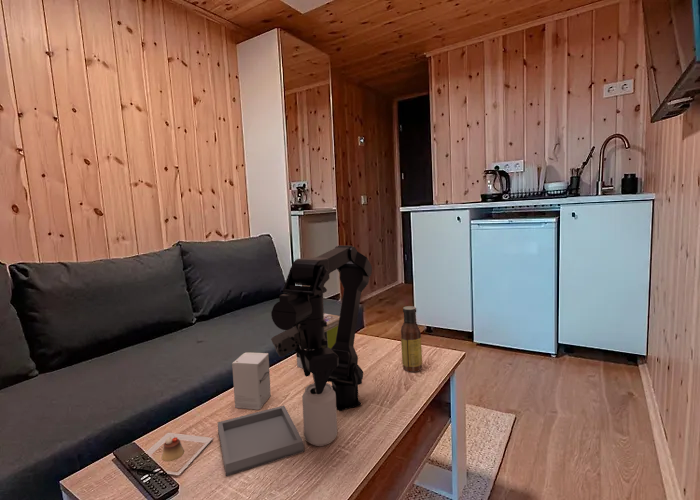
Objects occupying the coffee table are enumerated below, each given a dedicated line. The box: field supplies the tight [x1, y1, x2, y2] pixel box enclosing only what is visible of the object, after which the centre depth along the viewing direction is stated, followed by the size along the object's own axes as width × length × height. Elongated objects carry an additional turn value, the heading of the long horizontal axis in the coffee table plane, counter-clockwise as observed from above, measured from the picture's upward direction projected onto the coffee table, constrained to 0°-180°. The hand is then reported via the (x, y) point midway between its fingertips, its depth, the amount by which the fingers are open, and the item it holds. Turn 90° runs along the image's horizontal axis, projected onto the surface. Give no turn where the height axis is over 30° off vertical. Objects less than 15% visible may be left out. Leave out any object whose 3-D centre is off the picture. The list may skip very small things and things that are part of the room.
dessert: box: [144, 432, 214, 476], centre depth 81 cm, size 12×12×5 cm
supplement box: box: [231, 352, 272, 411], centre depth 100 cm, size 7×7×13 cm
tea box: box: [295, 312, 340, 369], centre depth 124 cm, size 15×10×15 cm, turn 144°
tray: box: [217, 405, 305, 477], centre depth 84 cm, size 16×16×2 cm
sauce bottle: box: [400, 305, 423, 372], centre depth 117 cm, size 6×6×20 cm
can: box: [301, 382, 338, 447], centre depth 84 cm, size 8×8×12 cm
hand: (312, 384), depth 83 cm, fingers open, 9 cm apart
